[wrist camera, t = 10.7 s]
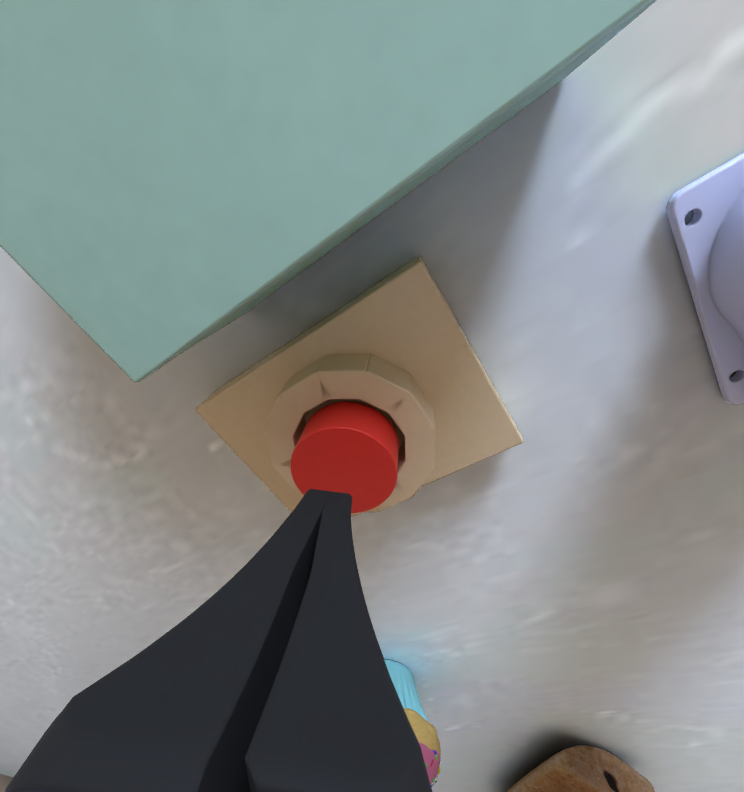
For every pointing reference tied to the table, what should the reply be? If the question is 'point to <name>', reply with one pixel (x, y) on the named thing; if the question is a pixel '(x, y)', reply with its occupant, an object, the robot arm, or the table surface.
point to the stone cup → (583, 773)
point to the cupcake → (416, 717)
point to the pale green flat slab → (238, 137)
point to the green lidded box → (426, 174)
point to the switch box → (371, 388)
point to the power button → (348, 454)
